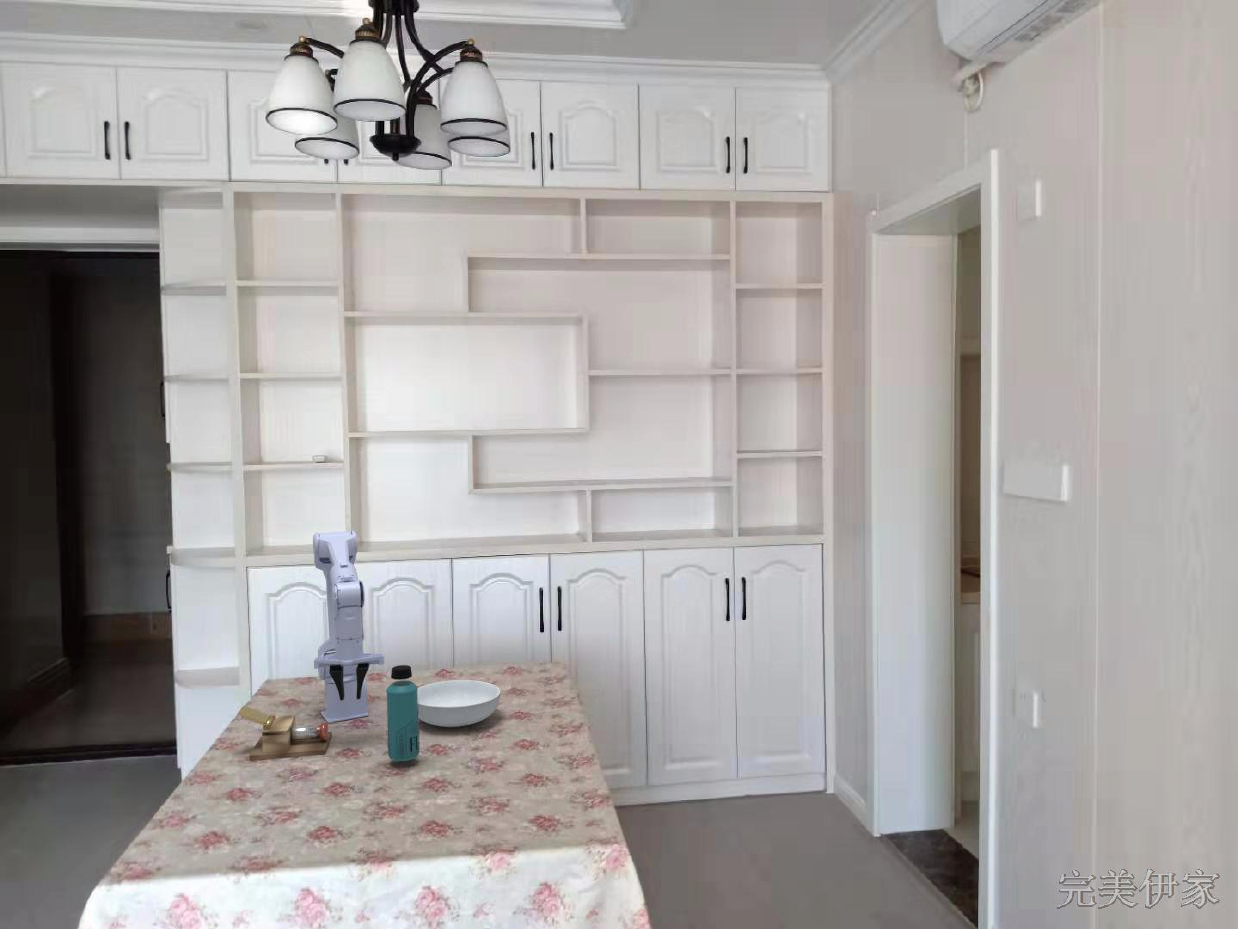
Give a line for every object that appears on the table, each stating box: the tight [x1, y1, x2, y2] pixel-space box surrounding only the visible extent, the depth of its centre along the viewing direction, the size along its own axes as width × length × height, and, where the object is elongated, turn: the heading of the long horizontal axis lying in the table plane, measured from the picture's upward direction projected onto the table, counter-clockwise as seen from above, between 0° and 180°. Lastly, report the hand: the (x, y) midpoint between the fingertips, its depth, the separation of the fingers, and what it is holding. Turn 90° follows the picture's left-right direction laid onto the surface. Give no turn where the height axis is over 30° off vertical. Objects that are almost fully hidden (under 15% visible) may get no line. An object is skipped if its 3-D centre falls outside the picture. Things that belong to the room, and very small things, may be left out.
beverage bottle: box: [386, 664, 421, 762], centre depth 177 cm, size 6×7×20 cm
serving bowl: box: [417, 679, 501, 728], centre depth 202 cm, size 21×21×7 cm
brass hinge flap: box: [236, 705, 274, 726], centre depth 184 cm, size 7×4×1 cm, turn 101°
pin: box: [290, 721, 329, 741], centre depth 186 cm, size 10×4×4 cm, turn 101°
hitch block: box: [249, 714, 333, 761], centre depth 186 cm, size 15×11×6 cm
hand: (350, 698), depth 188 cm, fingers open, 3 cm apart
